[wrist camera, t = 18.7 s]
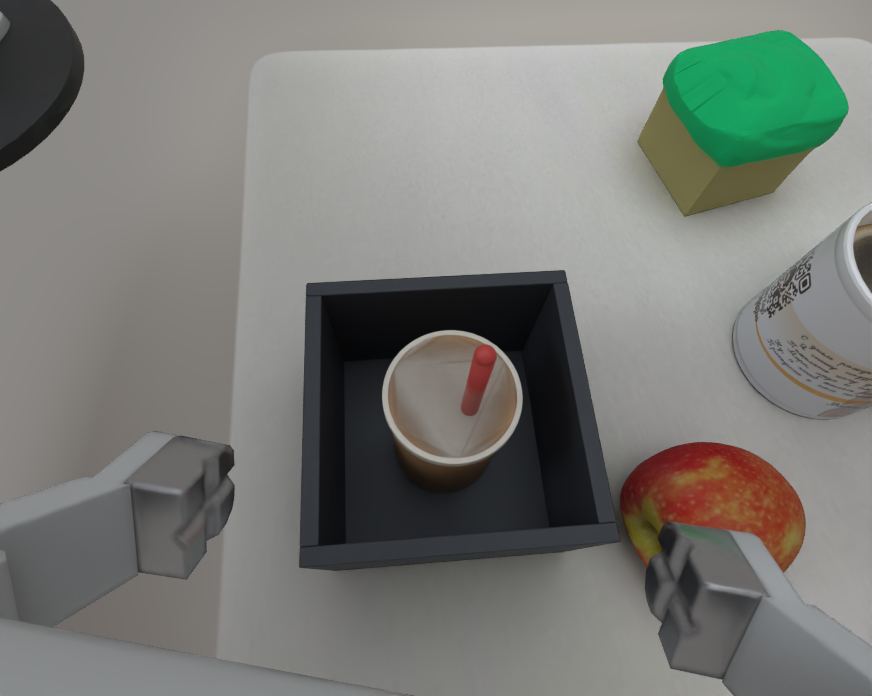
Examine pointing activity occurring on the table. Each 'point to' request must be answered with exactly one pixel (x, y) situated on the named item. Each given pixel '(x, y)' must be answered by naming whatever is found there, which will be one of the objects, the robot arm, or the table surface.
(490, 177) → the table surface
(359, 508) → the bin
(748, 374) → the mug
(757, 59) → the cake
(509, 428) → the paper cup
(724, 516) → the apple
